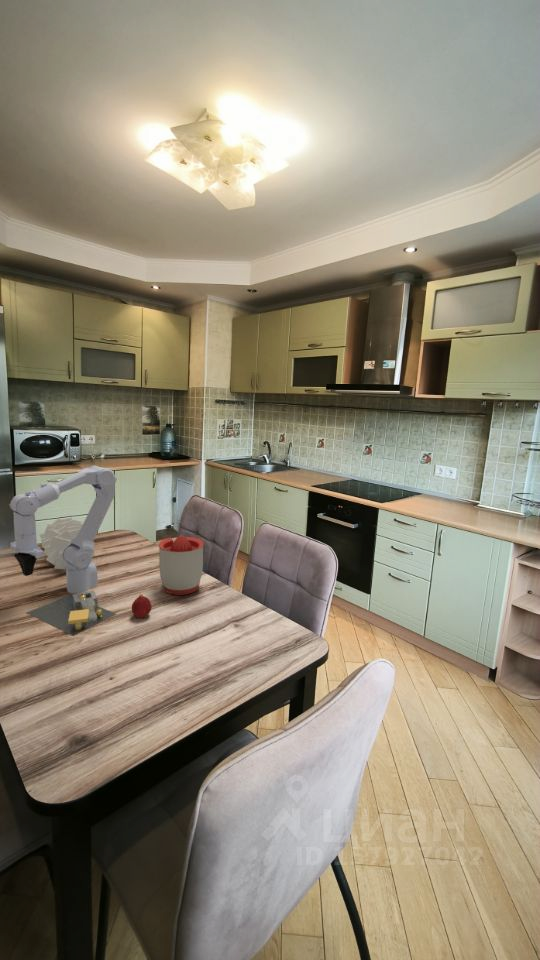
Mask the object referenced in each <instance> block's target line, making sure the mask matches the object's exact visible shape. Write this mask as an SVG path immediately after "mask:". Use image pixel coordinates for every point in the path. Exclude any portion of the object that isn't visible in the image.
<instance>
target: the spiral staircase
mask: <svg viewBox="0 0 540 960" xmlns="http://www.w3.org/2000/svg"><path fill="white" fill-rule="evenodd" d="M82 525H83V522H82V521H80V520H76V519H73V517H71V516H70V517H67V518H62V519H61V518H60V517H58V518H57V519H56V520H55V521H53V522H52V523H50V524H49V523H47V526H46V528H45V530H44V532H43V533H40V534H39V537H40V542H41V543H42V544H41V547H42V548H43V549H44V550H43V555H45V556H47V558H45V560H46V561H47V562H48V563H50V564H52V565H53V566H54V569H55V570H66V561H65V560H64V559H63V557H62V553H63V550H64V549H65V548H66V547H67V546H68V545H69V544H70V542H71V540H72V539H74V538H76V537H77V536H78V533H79V531H80V529H81V527H82ZM95 545H96V542H94V540H93V547H94V546H95ZM94 548H95V547H94ZM94 556H95V550H94V551H93V553H92V557H94Z"/></svg>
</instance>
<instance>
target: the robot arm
mask: <svg viewBox="0 0 540 960" xmlns="http://www.w3.org/2000/svg"><path fill="white" fill-rule="evenodd" d="M116 482H117V477H116V475H115V472H114V471H113V470H112V469H110V468H106V467H101V466H99V465H91V466H89V467H86V468H82V469H81V470H80V471H78V472H76V473H74V474H72V475H70V476H67V477H66V478H64V479H62V480H61V481H59V482H57V483H51V482H47V483H46V482H43V483H41V484H40V486H38V487H36V488H35V489H32V490H27V491H25V494H24V493H23V494H22V493H20V494H16V495H15V496H13V497H12V499H11V501H10V503H9V504H8V505H9V507H10V509H11V510H12V511H13V530H14V541H13V542H10V550H11V552H12V553H15V554H14V556H13V557H14V558H15V559H16V560H17V563H18V564H19V566H20V569H21V572H22V574H23V576H25V577H29V576H31V575H33V574H34V568H35V565H36V562H37V561H38V559H40V558H44V550H42V549H41V548H40V547H39V545H38V543H37V541H38V539H37V527H36V526H37V525H36V514H35V513H36V512H37V511H38V509H39V508H42V507H43V506H45V505H48V504H50V503H52V502H53V501H56V500H58V499H59V497H60V495H61V494H62V493H65V492H67V491H69V490H73V489H74V488H77V487H78V486H82V485H85V484H86V485H91V486H92V487H93V489H94V491H95V493H96V496H95V498H94V501H93V503H92V504H91V507H90V509H89V511H88V513H87V515H86V518H85V519H84V521H83V522H82V524H83V525H82V527H81V529H80V531H79V533H78V536H77V537H76V538H74V539H72V540H71V542H70V544H69V545H68V546H67V547H66V548H65V549H64V550H63V553H62V557H63V559H64V560H65V561H66V569H65V573H66V574H65V575H66V577H65V578H66V591H67V593H71V594H78V593H84V592H88V591H89V590H90V589H92V588H94V587H97V586H98V569H97V565H96V564H95V563H94V562H92V561H93V556H92V553H93V551H94V552H95V549H94V548H95V547H93V541H94V540H95V538H96V535H97V534H98V532H99V529H100V527H101V525H102V523H103V521H104V519H105V517H106V515H107V513H108V511H109V509H110V507H111V504H112V502H113V500H114V498H115V495H116V489H115V488H116V487H115V485H116Z"/></svg>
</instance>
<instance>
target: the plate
mask: <svg viewBox="0 0 540 960" xmlns="http://www.w3.org/2000/svg"><path fill="white" fill-rule="evenodd" d="M95 608H96V610H97V609H102V617H101V618H97V621H96V622H92V623H87V624H86V622H82V623H81V624H82V629H81V630H76V628H75V623H74V624H68V620H69V615H70V611H75V608H74V604H73V594H69V595H67V596H64V597H62V598H59V599H56V600H53V601H51V602H50V603H47V604H44V605H41V606H39V607H37V608H35V609H31V610H29V611H27V612H26V614H27V615H30V616H31V617H33V618H36V619H38V620H40V621H41V622H44V623H46V624H47V625H49V626H51V627H54V628H56V629H58V630H60V631H62V632H64V633H66V634H68V635H70V636H73V637H74V636H77V635H78V634H81V633H82V632H86V630H88V629H90V628H92V627H95V626H96V625H98V624H100V623H102V622H105V621H107V620H109V619H110V618H113V617H114V616H116V615H117V613H116V612H113V611H111V610H108V609H106V608H103V607H101V606H99V605H98V607H95Z"/></svg>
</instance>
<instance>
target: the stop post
mask: <svg viewBox="0 0 540 960" xmlns="http://www.w3.org/2000/svg"><path fill="white" fill-rule="evenodd" d="M96 615H97V618H101V617H102V609H97V610H96Z"/></svg>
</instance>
